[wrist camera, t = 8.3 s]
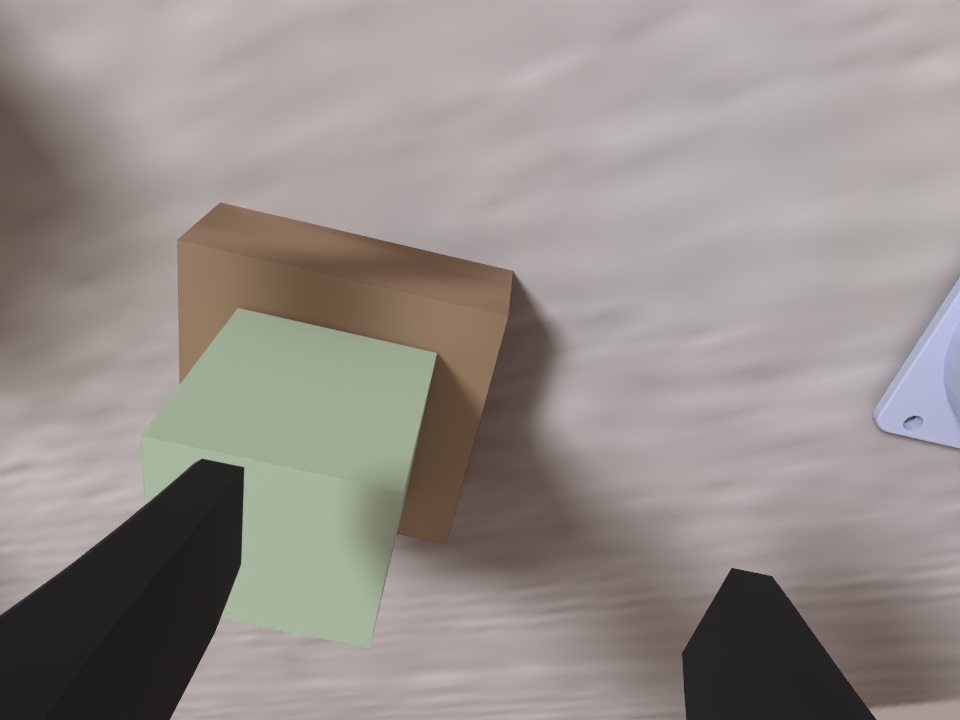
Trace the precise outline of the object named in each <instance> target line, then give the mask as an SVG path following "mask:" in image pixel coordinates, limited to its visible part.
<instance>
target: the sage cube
mask: <svg viewBox="0 0 960 720" xmlns="http://www.w3.org/2000/svg"><path fill="white" fill-rule="evenodd" d="M436 356H437V353H435V352H431V351H426V350H422V349H418V348H413V347H409V346H404V345H400V344H395V343H391V342H387V341H382V340H378V339H373V338H369V337H364V336H360V335H356V334H351V333H347V332H342V331H338V330H333V329H329V328H325V327H320V326H316V325H311V324H307V323H303V322H298V321H294V320H289V319H285V318H280V317H276V316H272V315H267V314H263V313H258V312H254V311H249V310H245V309H241V308H238V309H237V310H236V311H235V312H234V314H233V315H232V316H231V318H230V319H229V320H228V322H227V323H226V324H225V326H224V327H223V328H222V330H221V331H220V332H219V334H218V335H217V336H216V337H215V339H214V340H213V341H212V343H211V344H210V345H209V347H208V348H207V349H206V351H205V352H204V353H203V355H202V356H201V357H200V359H199V360H198V361H197V362H196V364H195V365H194V366H193V368H192V369H191V370H190V372H189V373H188V374H187V376H186V377H185V378H184V380H183V381H182V382H181V384H180V385H179V386H178V388H177V389H176V390H175V391H174V393H173V394H172V395H171V397H170V398H169V399H168V401H167V402H166V403H165V405H164V406H163V407H162V409H161V410H160V411H159V413H158V414H157V415H156V416H155V418H154V419H153V420H152V422H151V423H150V424H149V426H148V427H147V428H146V430H145V431H144V432H143V434H142V435H141V447H142V464H143V481H144V498H145V505H146V504H147V503H148V502H149V501H151V500H152V499H153V498H154V497H155V496H157V495H158V494H159V493H160V492H161V491H162V490H164V489H165V488H166V487H167V486H168V485H169V484H171V483H172V482H173V481H174V480H175V479H176V478H178V477H179V476H180V475H181V474H182V473H183V472H184V471H186V470H187V469H188V468H189V467H190V466H191V465H192V464H194V463H195V462H197V461H199V460H200V459H207V460H212V461H217V462H222V463H226V464H231V465H236V466H241V467H244V496H243V526H242V557H241V566H240V569H239V572H238V574H237V577H236V579H235V582H234V585H233V587H232V590H231V593H230V595H229V598H228V601H227V603H226V606H225V608H224V611H223V613H222V616H221V619H226V620H231V621H236V622H241V623H246V624H251V625H255V626H260V627H265V628H270V629H275V630H280V631H285V632H290V633H295V634H300V635H305V636H310V637H315V638H319V639H324V640H329V641H334V642H339V643H344V644H349V645H354V646H359V647H364V648H369V649H370V645H371V641H372V636H373V632H374V628H375V624H376V620H377V615H378V611H379V607H380V603H381V598H382V594H383V590H384V586H385V581H386V577H387V573H388V569H389V564H390V560H391V556H392V552H393V547H394V543H395V539H396V535H397V530H398V526H399V522H400V518H401V513H402V509H403V505H404V501H405V497H406V492H407V487H408V483H409V478H410V474H411V469H412V465H413V460H414V456H415V451H416V447H417V442H418V438H419V433H420V428H421V424H422V419H423V415H424V410H425V406H426V401H427V397H428V392H429V388H430V383H431V379H432V374H433V369H434V365H435V360H436Z"/></svg>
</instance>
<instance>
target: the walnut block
mask: <svg viewBox="0 0 960 720" xmlns="http://www.w3.org/2000/svg"><path fill="white" fill-rule="evenodd" d="M512 277H513V271H510V270H506V269H502V268H498V267H493V266H489V265H485V264H481V263H476V262H472V261H468V260H463V259H459V258H455V257H451V256H446V255H442V254H438V253H434V252H429V251H425V250H421V249H416V248H412V247H408V246H404V245H399V244H395V243H391V242H387V241H382V240H378V239H374V238H369V237H365V236H361V235H357V234H352V233H348V232H344V231H340V230H335V229H331V228H327V227H322V226H318V225H314V224H310V223H305V222H301V221H297V220H293V219H288V218H284V217H280V216H275V215H271V214H267V213H263V212H258V211H254V210H250V209H246V208H241V207H237V206H233V205H228V204H224V203H219V204H218V205H217V206H216V207H215V208H214V209H212V210H211V211H210V212H209V213H208V214H207V215H206V216H204V217H203V218H202V219H201V220H200V221H199V222H197V223H196V224H195V225H194V226H193V227H192V228H191V229H189V230H188V231H187V232H186V233H185V234H184V235H183V236H181V237H180V238H179V239H178V306H179V371H180V384H181V382H182V381H183V380H184V378H185V377H186V376H187V374H188V373H189V372H190V370H191V369H192V368H193V366H194V365H195V364H196V362H197V361H198V360H199V359H200V357H201V356H202V355H203V353H204V352H205V351H206V349H207V348H208V347H209V345H210V344H211V343H212V341H213V340H214V339H215V337H216V336H217V335H218V334H219V332H220V331H221V330H222V328H223V327H224V326H225V324H226V323H227V322H228V320H229V319H230V318H231V316H232V315H233V314H234V312H235V311H236V310H237V309H238V308H241V309H245V310H249V311H254V312H258V313H263V314H267V315H272V316H276V317H280V318H285V319H289V320H294V321H298V322H303V323H307V324H311V325H316V326H320V327H325V328H329V329H333V330H338V331H342V332H347V333H351V334H356V335H360V336H364V337H369V338H373V339H378V340H382V341H387V342H391V343H395V344H400V345H404V346H409V347H413V348H418V349H422V350H426V351H431V352H435V353H437V356H436V360H435V365H434V369H433V374H432V379H431V383H430V388H429V392H428V397H427V401H426V406H425V410H424V415H423V419H422V424H421V428H420V433H419V438H418V442H417V447H416V451H415V456H414V460H413V465H412V469H411V474H410V478H409V483H408V487H407V492H406V497H405V501H404V505H403V509H402V513H401V518H400V522H399V526H398V530H397V534H401V535H406V536H410V537H415V538H420V539H424V540H429V541H433V542H438V543H443V544H446V543H447V540H448V536H449V532H450V529H451V525H452V521H453V518H454V514H455V510H456V507H457V503H458V499H459V496H460V492H461V488H462V485H463V481H464V477H465V474H466V470H467V466H468V463H469V459H470V455H471V452H472V448H473V445H474V441H475V437H476V434H477V430H478V426H479V423H480V419H481V415H482V412H483V408H484V404H485V401H486V397H487V393H488V390H489V386H490V382H491V379H492V375H493V371H494V368H495V364H496V360H497V357H498V353H499V349H500V346H501V342H502V338H503V335H504V331H505V327H506V324H507V320H508V316H509V306H510V296H511V287H512Z"/></svg>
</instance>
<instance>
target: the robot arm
mask: <svg viewBox="0 0 960 720" xmlns="http://www.w3.org/2000/svg"><path fill="white" fill-rule="evenodd" d="M912 416H916V418H915V419H914V420H912V421H910V422H904V421H905V420H906V419H907V418H909V417H912ZM873 419H874V421H875V422H876V424H877V425H878V427H879V428H880V429H881V430H883V431H885V432H889V433H893V434H897V435H902V436H906V437H910V438H915V439H919V440H924V441H928V442H932V443H937V444H941V445H945V446H950V447H954V448H959V449H960V277H959V279H958V280H957V282H956V283H955V285H954V286H953V288H952V290H951V291H950V293H949V294H948V296H947V297H946V299H945V300H944V302H943V304H942V305H941V307H940V308H939V310H938V311H937V313H936V314H935V316H934V318H933V319H932V321H931V322H930V324H929V325H928V327H927V328H926V330H925V331H924V333H923V335H922V336H921V338H920V339H919V341H918V342H917V344H916V345H915V347H914V349H913V350H912V352H911V353H910V355H909V356H908V358H907V359H906V361H905V362H904V364H903V366H902V367H901V369H900V370H899V372H898V373H897V375H896V376H895V378H894V380H893V381H892V383H891V384H890V386H889V387H888V389H887V390H886V392H885V393H884V395H883V397H882V398H881V400H880V401H879V403H878V404H877V406H876V407H875V409H874V412H873ZM243 496H244V467H241V466H236V465H231V464H226V463H222V462H217V461H212V460H207V459H200V460H199V461H197V462H195V463H194V464H192V465H191V466H190V467H189V468H188V469H187V470H186V471H184V472H183V473H182V474H181V475H180V476H179V477H178V478H176V479H175V480H174V481H173V482H172V483H171V484H169V485H168V486H167V487H166V488H165V489H164V490H162V491H161V492H160V493H159V494H158V495H157V496H155V497H154V498H153V499H152V500H151V501H149V502H148V503H147V504H146V505H145V506H144V507H142V508H141V509H140V510H139V511H137V512H136V513H135V514H134V515H133V516H131V517H130V518H129V519H128V520H127V521H125V522H124V523H123V524H122V525H121V526H119V527H118V528H117V529H115V530H114V531H113V532H112V533H110V534H109V535H108V536H107V537H105V538H104V539H103V540H101V541H100V542H99V543H98V544H96V545H95V546H94V547H93V548H91V549H90V550H89V551H87V552H86V553H85V554H84V555H82V556H81V557H80V558H79V559H77V560H76V561H75V562H73V563H72V564H71V565H69V566H68V567H67V568H65V569H64V570H63V571H61V572H60V573H59V574H57V575H56V576H55V577H53V578H52V579H50V580H49V581H48V582H46V583H45V584H43V585H42V586H41V587H39V588H38V589H37V590H35V591H34V592H32V593H31V594H30V595H28V596H27V597H25V598H24V599H23V600H21V601H20V602H18V603H17V604H16V605H14V606H13V607H11V608H10V609H9V610H7V611H6V612H5V613H3V614H2V615H0V720H170V718H171V716H172V714H173V712H174V710H175V709H176V707H177V705H178V703H179V701H180V699H181V697H182V695H183V693H184V691H185V689H186V687H187V686H188V684H189V682H190V680H191V678H192V676H193V674H194V672H195V670H196V668H197V666H198V664H199V662H200V660H201V658H202V656H203V654H204V653H205V651H206V649H207V647H208V645H209V643H210V641H211V639H212V637H213V635H214V633H215V631H216V628H217V626H218V623H219V621H220V618H221V616H222V613H223V611H224V608H225V606H226V603H227V601H228V598H229V595H230V593H231V590H232V587H233V585H234V582H235V579H236V577H237V574H238V572H239V569H240V566H241V557H242V526H243ZM682 656H683V676H684V694H685V706H686V719H687V720H876V719H875V717H874V716H873V715H872V713H871V712H870V711H869V709H868V708H867V707H866V705H865V704H864V703H863V701H862V700H861V698H860V697H859V696H858V694H857V693H856V692H855V690H854V689H853V688H852V686H851V685H850V684H849V682H848V681H847V679H846V678H845V677H844V675H843V674H842V673H841V671H840V670H839V668H838V667H837V666H836V664H835V663H834V661H833V660H832V659H831V657H830V656H829V654H828V653H827V652H826V650H825V649H824V647H823V646H822V645H821V643H820V642H819V641H818V639H817V638H816V636H815V635H814V634H813V632H812V631H811V629H810V628H809V626H808V625H807V624H806V622H805V621H804V619H803V618H802V617H801V615H800V614H799V612H798V611H797V610H796V608H795V607H794V606H793V604H792V603H791V601H790V600H789V599H788V597H787V596H786V594H785V593H784V592H783V590H782V589H781V588H780V586H779V585H778V584H777V582H776V581H775V580H774V578H773V577H772V576H768V575H763V574H758V573H754V572H749V571H744V570H739V569H734V568H731V570H730V572H729V574H728V575H727V577H726V579H725V580H724V582H723V584H722V586H721V587H720V589H719V591H718V592H717V594H716V596H715V598H714V599H713V601H712V603H711V605H710V606H709V608H708V610H707V611H706V613H705V615H704V617H703V618H702V620H701V622H700V623H699V625H698V627H697V629H696V630H695V632H694V634H693V635H692V637H691V639H690V641H689V642H688V644H687V646H686V647H685V649H684V651H683V653H682Z"/></svg>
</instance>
